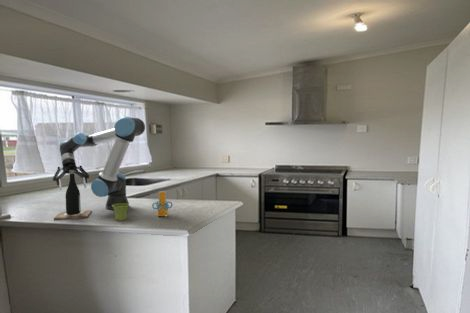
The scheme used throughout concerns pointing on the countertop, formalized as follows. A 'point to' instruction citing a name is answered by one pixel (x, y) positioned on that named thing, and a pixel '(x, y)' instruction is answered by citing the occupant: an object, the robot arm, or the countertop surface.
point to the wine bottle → (72, 195)
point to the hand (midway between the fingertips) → (73, 187)
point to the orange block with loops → (162, 204)
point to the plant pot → (120, 211)
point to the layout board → (66, 216)
